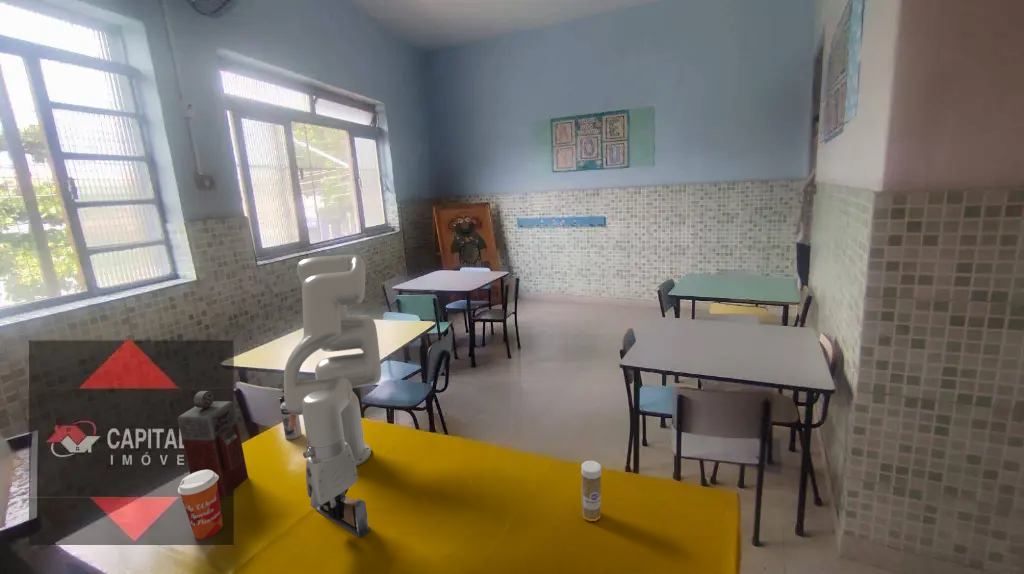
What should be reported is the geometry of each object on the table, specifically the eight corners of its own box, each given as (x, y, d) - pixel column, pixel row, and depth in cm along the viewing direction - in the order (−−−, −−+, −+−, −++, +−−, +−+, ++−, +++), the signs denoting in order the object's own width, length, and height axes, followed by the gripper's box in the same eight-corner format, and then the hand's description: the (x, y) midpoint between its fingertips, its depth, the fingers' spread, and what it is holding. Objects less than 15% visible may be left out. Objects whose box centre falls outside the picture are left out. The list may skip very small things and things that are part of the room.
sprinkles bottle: (588, 525, 103) (588, 474, 100) (577, 513, 107) (577, 463, 104) (605, 519, 105) (605, 468, 102) (593, 506, 109) (593, 457, 106)
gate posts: (315, 510, 111) (311, 483, 110) (328, 501, 114) (324, 475, 113) (361, 538, 102) (357, 510, 100) (373, 529, 104) (370, 501, 103)
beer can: (282, 440, 144) (276, 406, 141) (291, 432, 148) (286, 398, 146) (295, 440, 143) (290, 406, 140) (304, 432, 148) (299, 399, 145)
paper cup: (186, 547, 101) (173, 493, 98) (191, 526, 108) (179, 474, 105) (226, 534, 105) (215, 482, 102) (229, 514, 111) (219, 464, 108)
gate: (323, 508, 110) (320, 488, 109) (329, 504, 112) (326, 484, 110) (354, 527, 104) (351, 505, 103) (360, 522, 105) (358, 501, 104)
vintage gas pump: (234, 498, 117) (213, 400, 111) (194, 496, 118) (172, 399, 112) (256, 476, 126) (238, 384, 120) (219, 475, 127) (199, 384, 121)
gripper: (304, 468, 91) (316, 545, 95) (365, 434, 103) (374, 504, 107) (285, 457, 95) (297, 531, 99) (346, 426, 107) (355, 493, 111)
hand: (337, 517), depth 103 cm, fingers closed
